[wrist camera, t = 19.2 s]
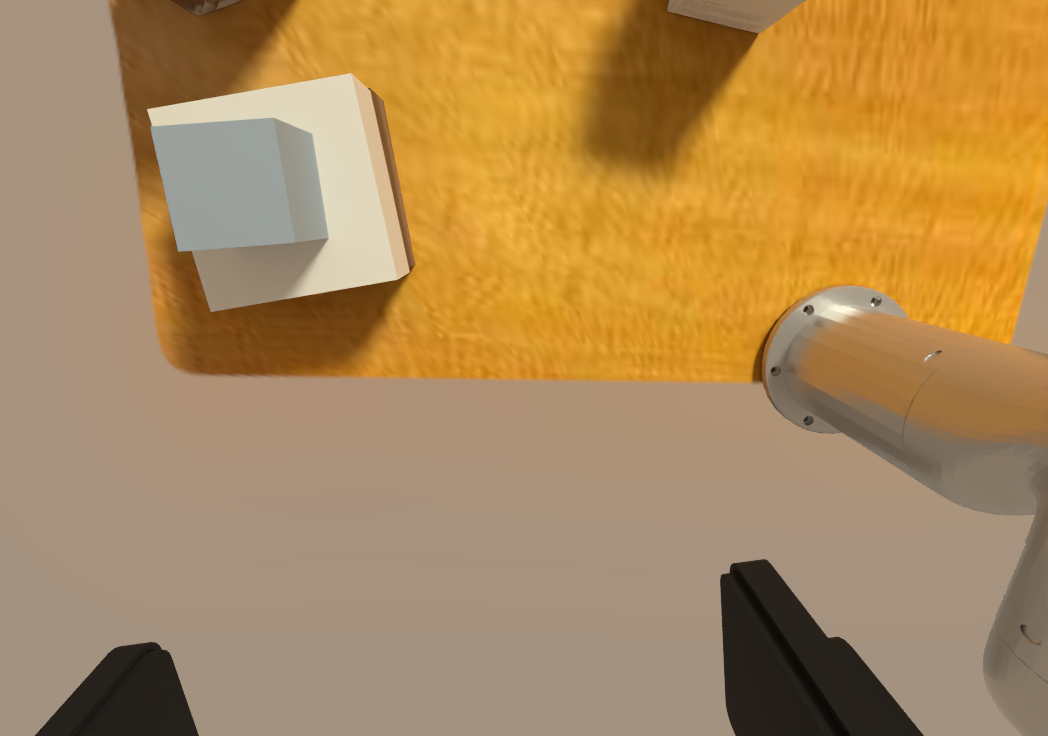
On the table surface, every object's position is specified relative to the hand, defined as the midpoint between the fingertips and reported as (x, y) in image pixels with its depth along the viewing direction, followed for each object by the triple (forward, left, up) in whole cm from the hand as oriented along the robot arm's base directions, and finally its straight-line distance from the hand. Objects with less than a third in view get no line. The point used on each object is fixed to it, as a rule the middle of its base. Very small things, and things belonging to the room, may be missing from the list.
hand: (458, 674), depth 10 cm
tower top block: (+12, -10, -34) cm, 37 cm away
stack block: (+12, -10, -29) cm, 33 cm away
